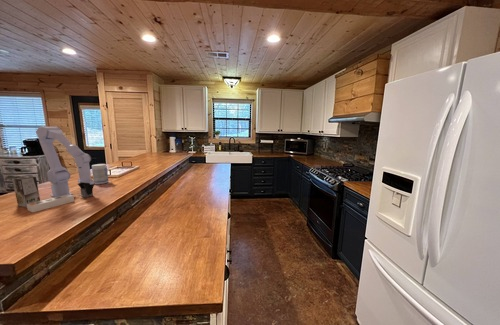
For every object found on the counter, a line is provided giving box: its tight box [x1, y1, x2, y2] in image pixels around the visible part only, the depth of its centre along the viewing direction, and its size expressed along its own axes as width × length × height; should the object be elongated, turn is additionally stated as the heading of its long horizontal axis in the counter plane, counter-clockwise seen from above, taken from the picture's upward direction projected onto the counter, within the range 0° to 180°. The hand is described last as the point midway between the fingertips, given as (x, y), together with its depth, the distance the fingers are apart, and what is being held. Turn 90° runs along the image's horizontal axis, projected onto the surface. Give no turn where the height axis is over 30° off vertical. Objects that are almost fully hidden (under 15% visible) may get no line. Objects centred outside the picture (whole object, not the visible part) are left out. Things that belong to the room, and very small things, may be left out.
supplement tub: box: [91, 163, 110, 185], centre depth 160 cm, size 10×10×15 cm
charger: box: [78, 188, 94, 199], centre depth 129 cm, size 6×4×5 cm
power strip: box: [26, 194, 75, 213], centre depth 115 cm, size 18×6×4 cm, turn 154°
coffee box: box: [11, 175, 41, 208], centre depth 115 cm, size 9×6×16 cm
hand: (87, 193), depth 131 cm, fingers closed on charger, 4 cm apart
